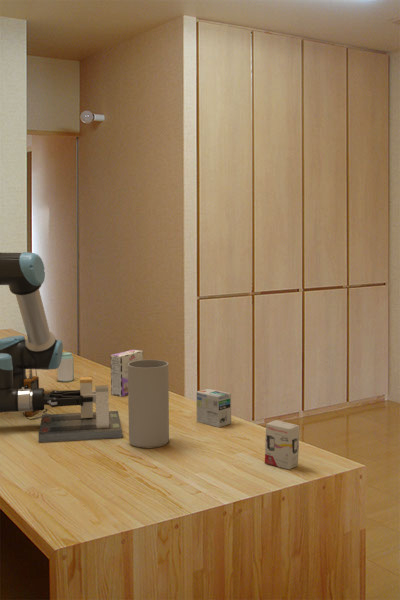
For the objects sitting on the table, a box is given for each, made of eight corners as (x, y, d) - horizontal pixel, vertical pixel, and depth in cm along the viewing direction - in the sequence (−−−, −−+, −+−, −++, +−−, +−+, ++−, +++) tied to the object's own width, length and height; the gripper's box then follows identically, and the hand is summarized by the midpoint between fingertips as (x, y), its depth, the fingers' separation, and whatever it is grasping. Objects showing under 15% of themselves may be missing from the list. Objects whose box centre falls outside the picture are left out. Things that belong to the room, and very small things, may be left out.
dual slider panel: (42, 421, 241) (41, 377, 239) (118, 417, 245) (117, 374, 243) (38, 442, 218) (37, 393, 216) (122, 437, 223) (121, 389, 221)
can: (55, 382, 300) (54, 354, 298) (60, 378, 307) (60, 351, 305) (70, 382, 298) (70, 355, 297) (76, 379, 305) (75, 352, 304)
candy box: (133, 388, 289) (132, 348, 287) (144, 390, 285) (143, 350, 283) (110, 394, 277) (109, 354, 276) (121, 397, 274) (120, 355, 272)
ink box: (263, 463, 199) (264, 423, 197) (273, 459, 202) (274, 419, 201) (289, 470, 193) (290, 429, 192) (299, 465, 197) (300, 425, 195)
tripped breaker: (80, 415, 239) (79, 377, 237) (92, 414, 239) (91, 376, 238) (80, 418, 235) (80, 379, 233) (92, 417, 235) (92, 379, 234)
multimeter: (46, 420, 242) (44, 364, 240) (19, 419, 244) (17, 363, 242) (62, 409, 256) (61, 356, 254) (37, 408, 258) (35, 355, 256)
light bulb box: (232, 423, 238) (232, 392, 236) (218, 428, 233) (218, 396, 232) (208, 417, 245) (208, 387, 244) (195, 421, 240) (195, 391, 239)
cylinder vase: (138, 451, 210) (137, 369, 207) (123, 439, 221) (121, 362, 218) (175, 444, 215) (175, 365, 213) (159, 433, 226) (158, 358, 224)
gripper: (30, 395, 224) (103, 391, 228) (33, 382, 241) (101, 379, 245) (30, 417, 225) (103, 413, 229) (34, 404, 242) (101, 400, 246)
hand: (102, 396), depth 237 cm, fingers closed on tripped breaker, 4 cm apart
